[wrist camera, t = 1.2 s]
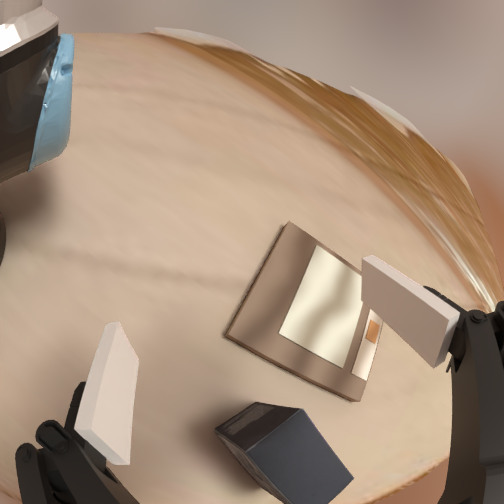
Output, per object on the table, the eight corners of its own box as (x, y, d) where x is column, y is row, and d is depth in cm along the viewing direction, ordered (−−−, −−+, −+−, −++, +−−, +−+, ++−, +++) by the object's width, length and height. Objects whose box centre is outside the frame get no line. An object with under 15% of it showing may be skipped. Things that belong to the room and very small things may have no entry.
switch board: (224, 336, 30) (229, 333, 28) (284, 226, 39) (290, 219, 38) (353, 401, 31) (361, 401, 30) (383, 295, 41) (390, 292, 39)
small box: (303, 458, 26) (359, 478, 17) (262, 489, 23) (308, 523, 14) (258, 398, 28) (306, 405, 19) (211, 429, 25) (241, 454, 16)
